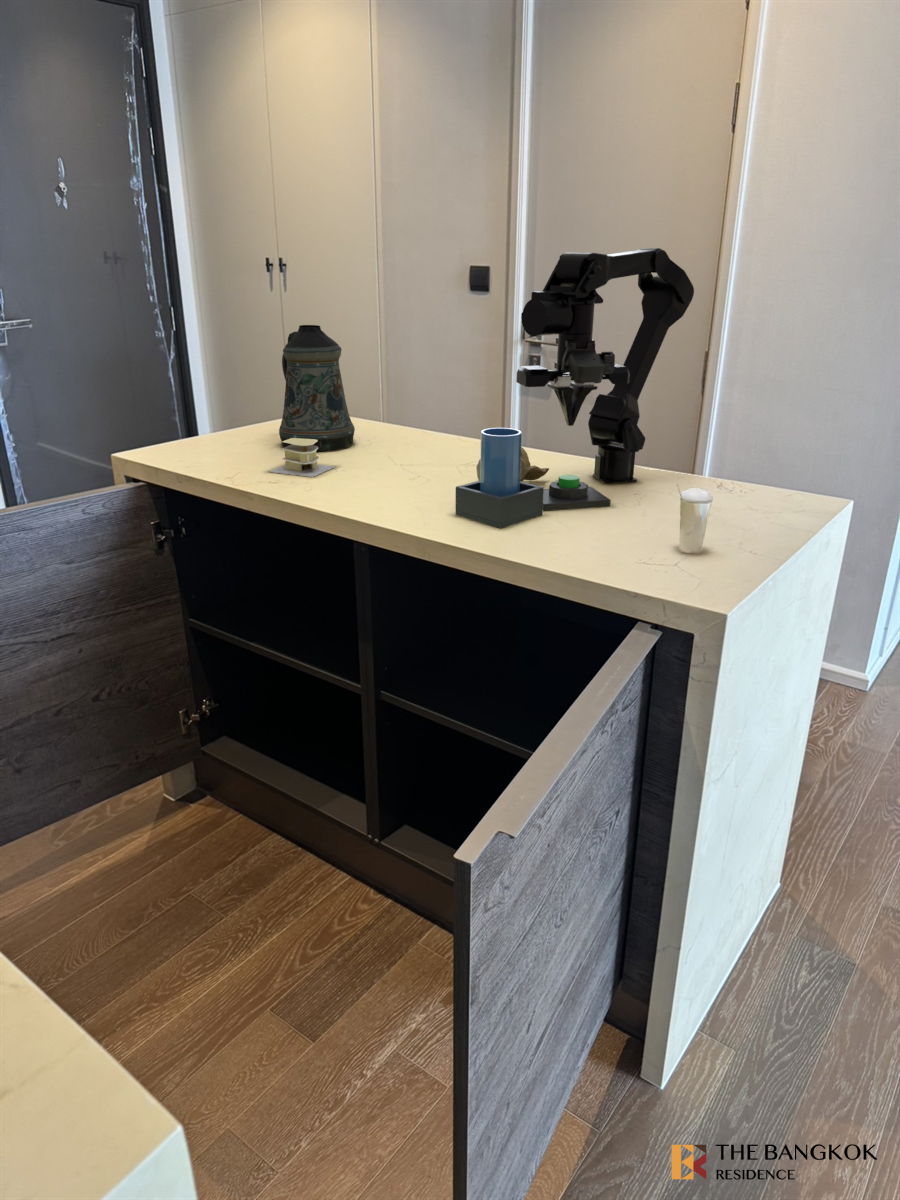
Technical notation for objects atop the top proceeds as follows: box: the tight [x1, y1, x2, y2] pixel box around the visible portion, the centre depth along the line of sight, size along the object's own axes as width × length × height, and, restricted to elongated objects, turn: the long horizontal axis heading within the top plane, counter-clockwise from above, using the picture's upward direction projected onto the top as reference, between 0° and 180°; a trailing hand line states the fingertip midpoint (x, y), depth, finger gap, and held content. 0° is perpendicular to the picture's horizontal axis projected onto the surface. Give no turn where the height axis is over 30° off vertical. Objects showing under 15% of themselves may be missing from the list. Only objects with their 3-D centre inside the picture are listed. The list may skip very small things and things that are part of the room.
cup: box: [479, 427, 522, 497], centre depth 140 cm, size 6×6×13 cm
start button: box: [558, 474, 581, 488], centre depth 149 cm, size 4×4×2 cm
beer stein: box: [278, 324, 356, 453], centre depth 187 cm, size 16×19×25 cm
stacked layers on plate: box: [269, 438, 337, 478], centre depth 169 cm, size 10×9×6 cm
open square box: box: [455, 480, 545, 529], centre depth 141 cm, size 10×10×5 cm
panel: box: [542, 479, 611, 512], centre depth 149 cm, size 12×9×3 cm
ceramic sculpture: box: [476, 446, 550, 482], centre depth 158 cm, size 11×9×15 cm
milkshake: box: [676, 483, 714, 555], centre depth 125 cm, size 4×5×10 cm
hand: (570, 425), depth 151 cm, fingers closed
